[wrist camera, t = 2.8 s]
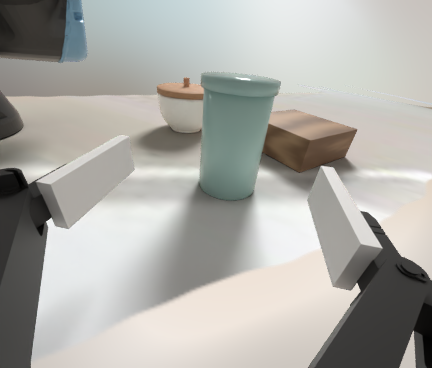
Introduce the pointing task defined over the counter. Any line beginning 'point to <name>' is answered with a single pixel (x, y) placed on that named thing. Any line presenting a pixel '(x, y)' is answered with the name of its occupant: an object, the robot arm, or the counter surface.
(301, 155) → the slab
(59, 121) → the counter surface
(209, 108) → the canister
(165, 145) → the counter surface
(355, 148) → the counter surface
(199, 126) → the lidded jar
